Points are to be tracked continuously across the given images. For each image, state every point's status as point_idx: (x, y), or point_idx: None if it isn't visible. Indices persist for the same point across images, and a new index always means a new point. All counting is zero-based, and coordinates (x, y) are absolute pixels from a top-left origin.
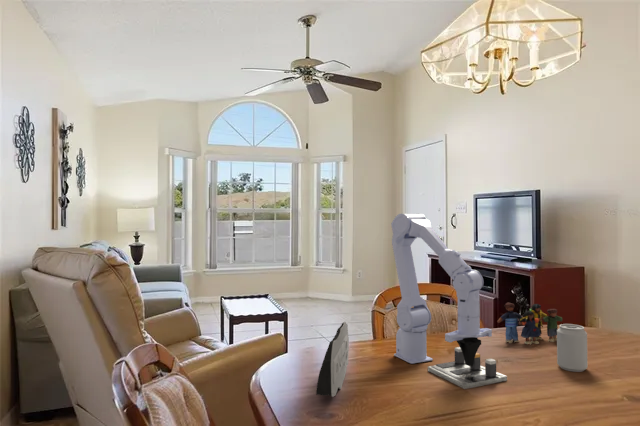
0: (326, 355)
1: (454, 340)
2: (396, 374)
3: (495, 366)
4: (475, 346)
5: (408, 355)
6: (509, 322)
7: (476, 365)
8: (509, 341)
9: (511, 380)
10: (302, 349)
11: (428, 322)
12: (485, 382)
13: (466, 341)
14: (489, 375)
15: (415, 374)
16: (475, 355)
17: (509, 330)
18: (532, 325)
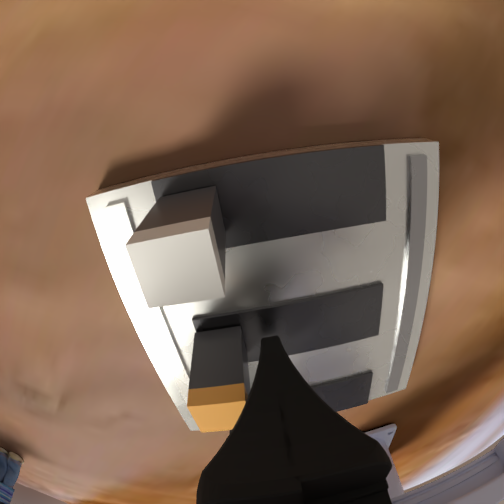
0: None
1: (472, 465)
2: (490, 348)
3: (149, 220)
4: (278, 449)
5: (389, 452)
6: (2, 493)
7: (226, 345)
8: (14, 456)
9: (71, 189)
10: (478, 453)
11: None
12: (275, 153)
13: (366, 489)
14: (217, 197)
15: (456, 347)
16: (235, 397)
17: (7, 478)
18: None
